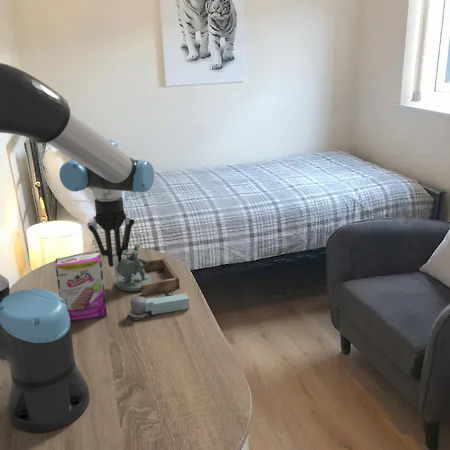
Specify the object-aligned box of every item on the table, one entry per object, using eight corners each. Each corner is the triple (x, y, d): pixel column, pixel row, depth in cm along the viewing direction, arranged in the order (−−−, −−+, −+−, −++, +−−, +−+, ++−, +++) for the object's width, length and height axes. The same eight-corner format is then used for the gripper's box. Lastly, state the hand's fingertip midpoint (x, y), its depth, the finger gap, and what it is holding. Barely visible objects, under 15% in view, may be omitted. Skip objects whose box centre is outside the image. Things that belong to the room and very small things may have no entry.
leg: (189, 309, 132) (189, 296, 131) (132, 318, 128) (131, 305, 127) (186, 302, 136) (185, 289, 134) (130, 311, 132) (129, 297, 130)
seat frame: (142, 295, 140) (141, 286, 139) (130, 272, 154) (129, 263, 153) (179, 288, 144) (179, 278, 143) (164, 266, 158) (164, 257, 157)
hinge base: (132, 321, 128) (131, 312, 127) (126, 308, 134) (125, 300, 133) (179, 311, 132) (178, 302, 131) (171, 299, 138) (171, 291, 137)
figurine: (160, 282, 148) (159, 244, 144) (132, 295, 140) (131, 256, 136) (135, 272, 154) (134, 235, 150) (108, 284, 146) (105, 246, 142)
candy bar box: (63, 324, 127) (54, 265, 121) (63, 314, 131) (54, 257, 126) (108, 316, 130) (101, 259, 124) (106, 307, 135) (99, 251, 129)
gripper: (86, 204, 131) (95, 285, 139) (135, 198, 135) (141, 276, 144) (82, 196, 137) (91, 274, 146) (129, 190, 142) (135, 266, 150)
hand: (116, 275), depth 145 cm, fingers closed
